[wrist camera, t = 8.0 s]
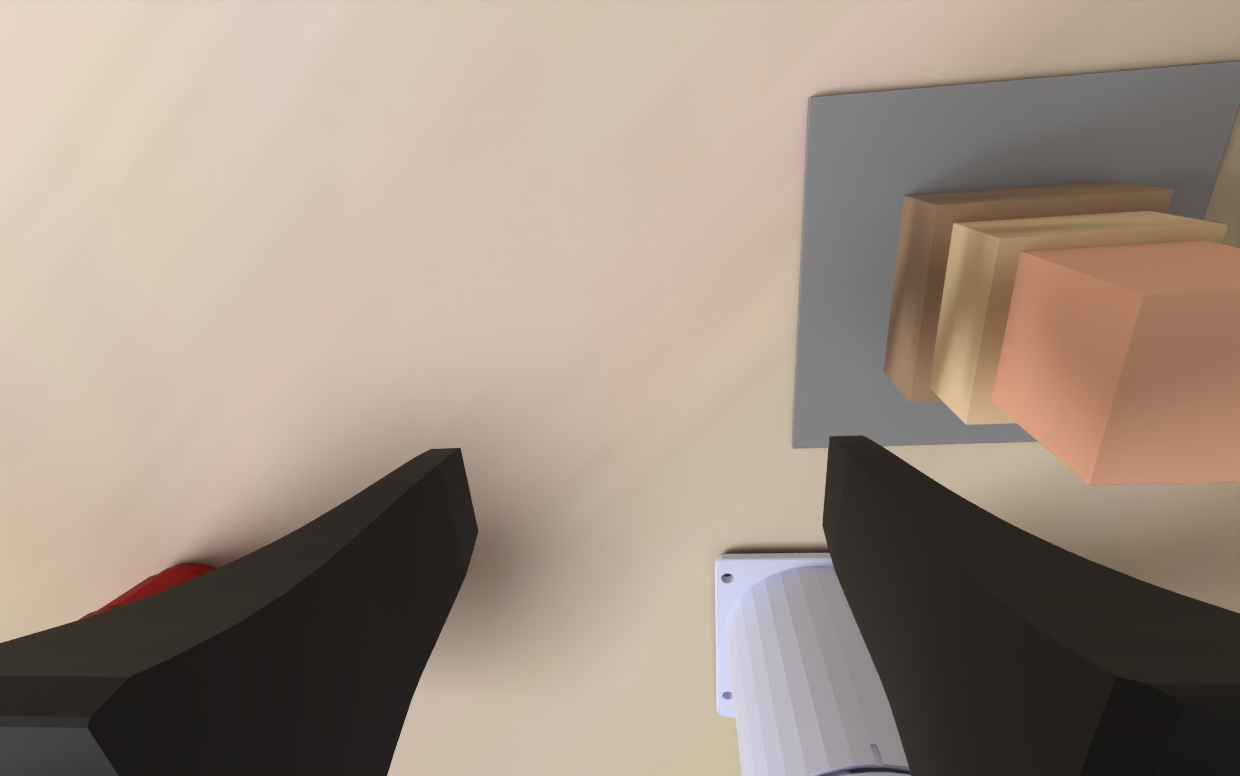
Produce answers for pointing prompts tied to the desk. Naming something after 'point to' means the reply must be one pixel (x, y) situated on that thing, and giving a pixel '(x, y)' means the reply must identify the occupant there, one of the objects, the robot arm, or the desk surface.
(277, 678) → the robot arm
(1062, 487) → the desk surface
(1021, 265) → the cube
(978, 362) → the tower middle
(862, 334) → the mat
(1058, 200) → the tower base
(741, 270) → the desk surface
